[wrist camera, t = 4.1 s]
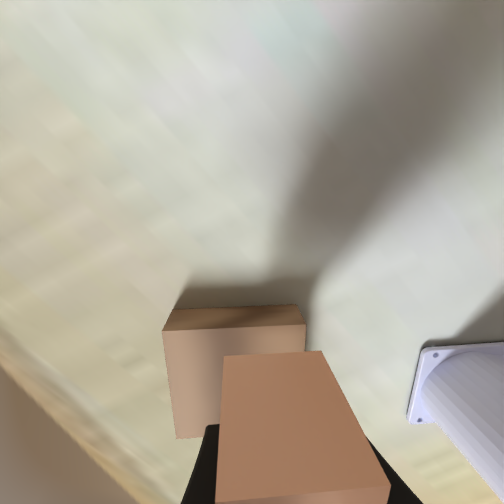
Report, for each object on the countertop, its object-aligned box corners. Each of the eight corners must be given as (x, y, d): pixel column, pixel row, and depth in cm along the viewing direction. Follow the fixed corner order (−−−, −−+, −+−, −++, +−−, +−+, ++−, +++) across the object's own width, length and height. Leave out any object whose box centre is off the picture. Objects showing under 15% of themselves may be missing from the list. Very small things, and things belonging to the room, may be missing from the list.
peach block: (320, 350, 11) (391, 485, 6) (314, 423, 12) (368, 583, 7) (224, 356, 10) (214, 502, 6) (227, 430, 12) (222, 602, 7)
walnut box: (294, 301, 18) (306, 324, 15) (290, 394, 20) (299, 429, 18) (173, 306, 17) (161, 331, 14) (184, 401, 20) (176, 439, 17)
